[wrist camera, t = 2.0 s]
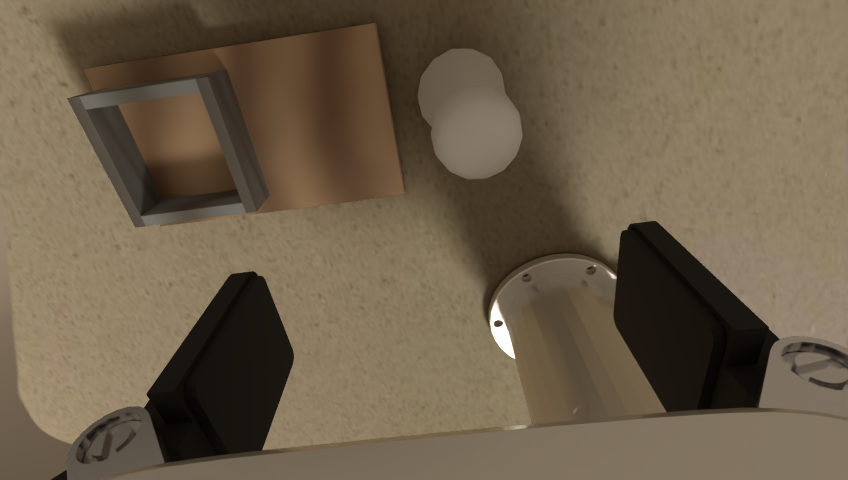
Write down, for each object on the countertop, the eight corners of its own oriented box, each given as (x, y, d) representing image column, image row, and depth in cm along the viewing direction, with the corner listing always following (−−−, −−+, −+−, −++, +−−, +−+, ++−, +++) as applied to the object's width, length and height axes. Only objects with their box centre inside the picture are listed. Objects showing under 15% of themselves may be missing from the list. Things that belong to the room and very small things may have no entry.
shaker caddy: (376, 22, 28) (369, 25, 25) (405, 188, 34) (403, 210, 31) (94, 66, 30) (48, 75, 26) (168, 219, 36) (139, 244, 32)
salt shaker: (427, 36, 29) (430, 58, 17) (508, 54, 29) (562, 86, 18) (412, 121, 32) (405, 188, 20) (486, 136, 32) (520, 209, 21)
